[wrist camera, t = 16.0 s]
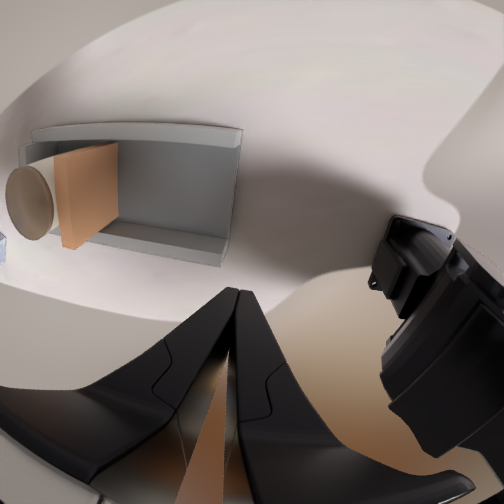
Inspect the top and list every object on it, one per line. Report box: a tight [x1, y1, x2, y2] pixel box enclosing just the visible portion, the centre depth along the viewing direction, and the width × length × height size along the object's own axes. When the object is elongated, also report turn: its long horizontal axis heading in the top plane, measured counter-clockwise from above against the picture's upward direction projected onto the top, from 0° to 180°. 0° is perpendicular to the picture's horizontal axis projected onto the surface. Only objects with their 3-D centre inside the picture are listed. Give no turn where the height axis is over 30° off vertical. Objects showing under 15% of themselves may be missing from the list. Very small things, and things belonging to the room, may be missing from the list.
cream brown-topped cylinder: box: [5, 148, 81, 240], centre depth 16 cm, size 5×5×7 cm
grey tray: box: [19, 122, 243, 267], centre depth 18 cm, size 17×9×5 cm, turn 82°
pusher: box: [54, 142, 119, 250], centre depth 16 cm, size 1×6×6 cm, turn 172°
